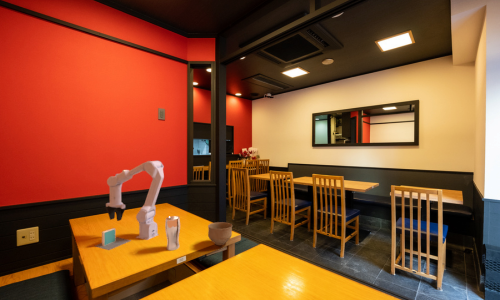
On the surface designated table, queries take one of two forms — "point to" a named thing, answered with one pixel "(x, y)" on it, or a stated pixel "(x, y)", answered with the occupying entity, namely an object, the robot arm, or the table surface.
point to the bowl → (220, 232)
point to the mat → (113, 244)
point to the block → (108, 236)
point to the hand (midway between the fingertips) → (115, 219)
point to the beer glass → (172, 232)
